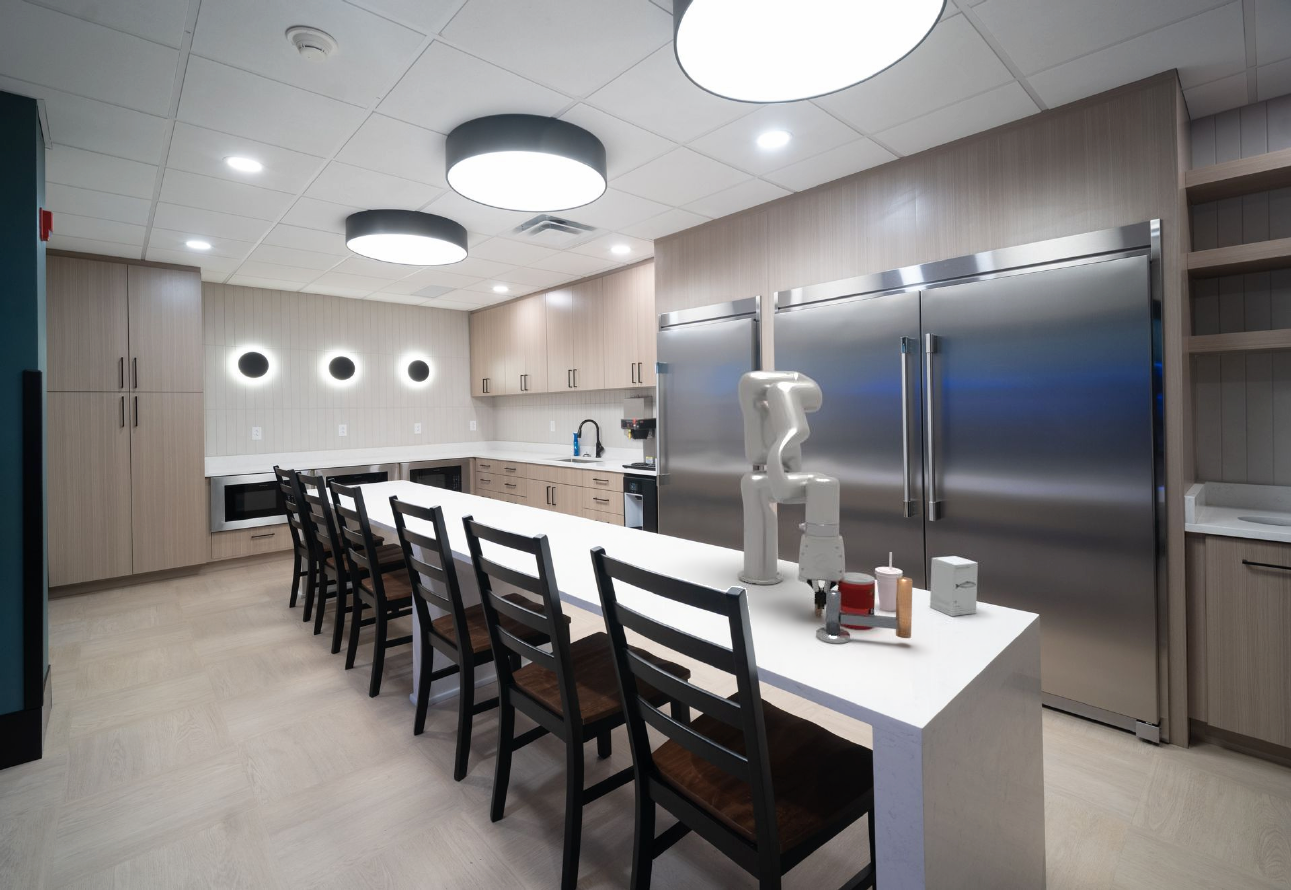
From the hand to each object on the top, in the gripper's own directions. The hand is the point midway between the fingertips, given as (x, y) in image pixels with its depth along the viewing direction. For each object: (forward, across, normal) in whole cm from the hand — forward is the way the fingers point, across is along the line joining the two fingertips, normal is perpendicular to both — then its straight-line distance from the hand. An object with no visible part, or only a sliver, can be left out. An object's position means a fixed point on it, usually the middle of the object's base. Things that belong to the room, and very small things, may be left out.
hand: (821, 607), depth 138 cm
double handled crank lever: (+2, +10, -10) cm, 14 cm away
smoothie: (+3, +16, +13) cm, 21 cm away
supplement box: (+3, +31, +16) cm, 35 cm away
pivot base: (+3, +3, -10) cm, 11 cm away
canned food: (+3, +8, 0) cm, 8 cm away
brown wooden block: (+3, -1, +4) cm, 5 cm away
